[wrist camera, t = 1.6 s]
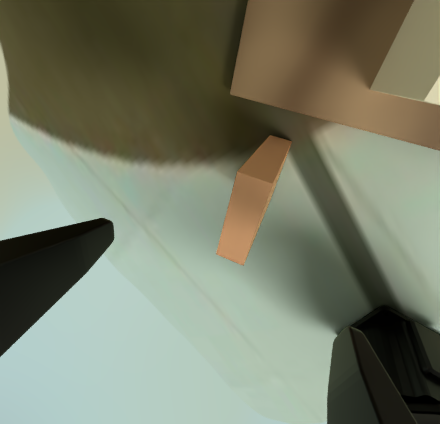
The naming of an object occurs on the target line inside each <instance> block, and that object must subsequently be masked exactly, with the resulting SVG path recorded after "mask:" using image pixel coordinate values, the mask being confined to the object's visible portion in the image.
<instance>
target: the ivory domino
mask: <svg viewBox="0 0 440 424" xmlns="http://www.w3.org/2000/svg"><path fill="white" fill-rule="evenodd" d="M370 90H373V91H377V92H382V93H386V94H390V95H395V96H399V97H403V98H408V99H413V100H417V101H422V102H426V103H431V104H436V105H440V0H414V2H413V4H412V6H411V8H410V10H409V12H408V14H407V16H406V18H405V20H404V22H403V24H402V26H401V28H400V30H399V32H398V34H397V36H396V38H395V40H394V42H393V44H392V46H391V48H390V50H389V52H388V54H387V56H386V58H385V60H384V62H383V64H382V66H381V68H380V70H379V72H378V74H377V76H376V78H375V80H374V82H373V84H372V86H371V88H370Z"/></svg>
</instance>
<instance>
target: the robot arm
mask: <svg viewBox="0 0 440 424" xmlns="http://www.w3.org/2000/svg"><path fill="white" fill-rule="evenodd" d="M113 240H114V226H113V223H112V221H110V220H107V219H105V218H99V219H95V220H90V221H86V222H81V223H77V224H73V225H68V226H64V227H59V228H55V229H50V230H46V231H42V232H37V233H33V234H28V235H24V236H20V237H15V238H10V239H6V240H2V241H0V357H1V356H2V355H3V354H4V353H5V352H6V351H7V350H8V349H9V348H10V347H11V346H12V345H13V344H14V343H15V342H16V341H17V340H18V339H19V338H20V337H21V336H22V335H23V334H24V333H25V332H26V331H27V330H28V329H29V328H30V327H31V326H32V325H34V324H35V323H36V322H37V321H38V320H39V318H40V317H42V316H43V315H44V314H45V313H46V312H47V311H48V310H49V309H50V308H51V307H52V306H53V305H54V304H55V303H56V302H57V301H58V300H59V299H60V298H61V297H62V296H63V295H64V294H65V293H66V292H67V291H68V290H69V289H70V288H72V286H73V285H74V284H75V283H77V282H78V281H79V280H80V278H82V277H83V276H84V275H85V274H86V273H87V272H88V270H89V269H90V268H91V267H92V266H93V265H94V264H95V262H96V261H97V260H98V259H99V258H100V256H101V255H102V254H103V253H104V252H105V251H106V249H107V248H108V247H109V246H110V245H111V244H112V242H113ZM327 424H440V335H439V334H437V333H435V332H434V331H432V330H430V329H428V328H426V327H425V326H423V325H421V324H419V323H417V322H416V321H413V320H411V319H409V318H408V317H406V316H404V315H402V314H400V313H399V312H397V311H395V310H393V309H392V308H390V307H387V306H381V307H379V308H378V309H376V310H375V311H373V312H372V313H370V314H369V315H367V316H365V317H364V318H362V319H361V320H359V321H358V322H356V323H355V324H353V325H352V326H347V327H345V328H344V329H343V330H342V331H341V333H340V334H338V336H337V337H336V338H335V340H334V342H333V349H332V357H331V366H330V375H329V384H328V397H327Z"/></svg>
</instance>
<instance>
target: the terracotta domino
mask: <svg viewBox="0 0 440 424" xmlns="http://www.w3.org/2000/svg"><path fill="white" fill-rule="evenodd" d="M291 143H292V141H289V140H285V139H282V138H278V137H275V136H272V135H270V136H269V137H268V138H267V139H266V140H265V141H264V142H263V144H262V145H261V146H260V147H259V148H258V149H257V150H256V151H255V152H254V154H253V155H252V156H251V157H250V158H249V159H248V160H247V161H246V162H245V164H244V165H243V166H242V167H241V168H240V169H239V170H238V171H237V174H236V178H235V182H234V186H233V190H232V194H231V198H230V202H229V206H228V210H227V213H226V217H225V221H224V225H223V229H222V233H221V237H220V241H219V245H218V249H217V253H216V254H217V255H219V256H222V257H224V258H226V259H229V260H231V261H233V262H236V263H238V264H241V265H244V263H245V260H246V258H247V256H248V253H249V251H250V248H251V246H252V243H253V241H254V239H255V236H256V234H257V231H258V229H259V226H260V224H261V222H262V219H263V217H264V214H265V212H266V209H267V207H268V205H269V202H270V200H271V197H272V194H273V192H274V189H275V186H276V183H277V181H278V178H279V175H280V173H281V170H282V167H283V165H284V162H285V159H286V156H287V154H288V151H289V148H290V146H291Z"/></svg>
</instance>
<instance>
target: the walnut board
mask: <svg viewBox="0 0 440 424" xmlns="http://www.w3.org/2000/svg"><path fill="white" fill-rule="evenodd" d="M413 2H414V0H248V4H247V9H246V14H245V19H244V24H243V29H242V34H241V39H240V45H239V50H238V55H237V60H236V65H235V70H234V75H233V81H232V86H231V91H230V95H234V96H238V97H242V98H245V99H249V100H253V101H257V102H260V103H264V104H268V105H271V106H275V107H279V108H283V109H286V110H290V111H294V112H298V113H301V114H305V115H309V116H313V117H316V118H320V119H324V120H327V121H331V122H335V123H339V124H342V125H346V126H350V127H354V128H357V129H361V130H365V131H369V132H372V133H376V134H380V135H384V136H387V137H391V138H395V139H398V140H402V141H406V142H410V143H413V144H417V145H421V146H425V147H428V148H432V149H436V150H440V105H436V104H431V103H426V102H422V101H417V100H413V99H408V98H403V97H399V96H395V95H390V94H386V93H382V92H377V91H373V90H370V88H371V86H372V84H373V82H374V80H375V78H376V76H377V74H378V72H379V70H380V68H381V66H382V64H383V62H384V60H385V58H386V56H387V54H388V52H389V50H390V48H391V46H392V44H393V42H394V40H395V38H396V36H397V34H398V32H399V30H400V28H401V26H402V24H403V22H404V20H405V18H406V16H407V14H408V12H409V10H410V8H411V6H412V4H413Z"/></svg>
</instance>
